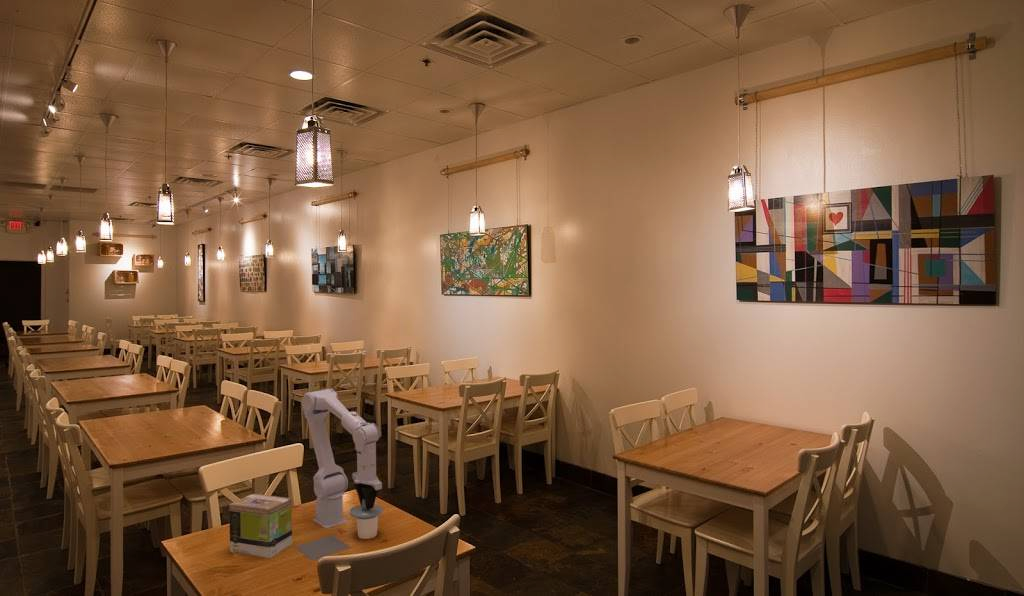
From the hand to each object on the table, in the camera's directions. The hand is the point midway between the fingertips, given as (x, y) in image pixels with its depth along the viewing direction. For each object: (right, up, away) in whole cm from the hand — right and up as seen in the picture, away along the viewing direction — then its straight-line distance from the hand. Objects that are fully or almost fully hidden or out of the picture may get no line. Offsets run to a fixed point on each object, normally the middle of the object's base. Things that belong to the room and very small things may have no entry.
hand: (367, 506), depth 180 cm
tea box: (-30, -10, -8) cm, 32 cm away
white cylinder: (0, -10, 0) cm, 10 cm away
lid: (0, -2, 0) cm, 2 cm away
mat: (-11, -10, -8) cm, 17 cm away
